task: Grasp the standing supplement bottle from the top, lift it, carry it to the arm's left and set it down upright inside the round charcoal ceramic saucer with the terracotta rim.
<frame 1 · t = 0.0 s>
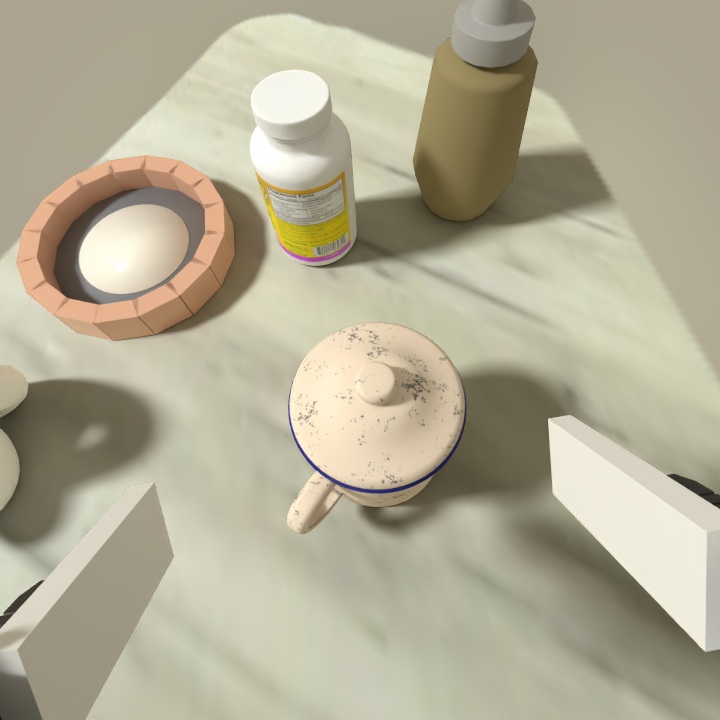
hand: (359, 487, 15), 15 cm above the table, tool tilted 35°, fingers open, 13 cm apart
supplement bottle: (318, 238, 39), on the table
teacup with lid: (364, 459, 31), on the table
squeeze bottle: (456, 198, 40), on the table
saucer tray: (139, 253, 38), on the table
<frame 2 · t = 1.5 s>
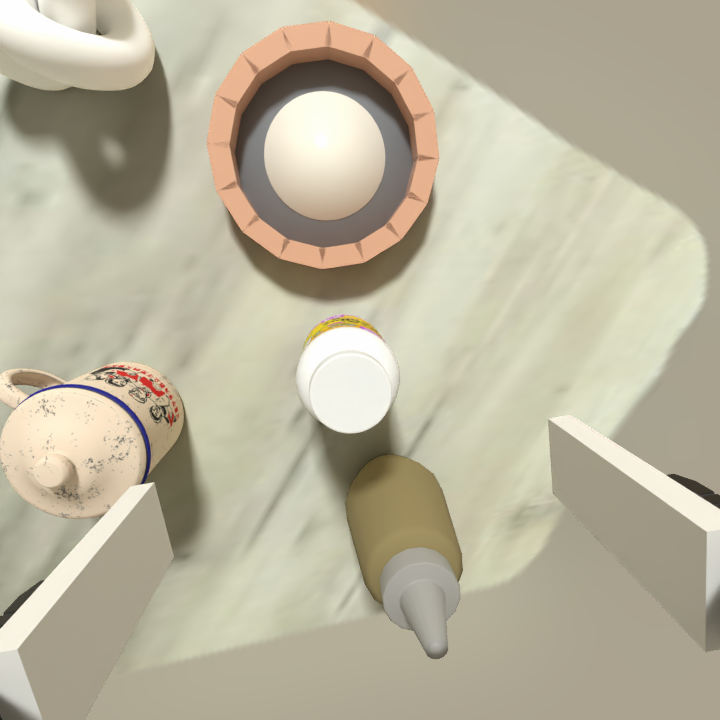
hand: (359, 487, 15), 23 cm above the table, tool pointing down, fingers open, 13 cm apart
white decorative knot: (93, 42, 33), on the table
supplement bottle: (343, 352, 38), on the table
teacup with lid: (117, 401, 38), on the table
squeeze bottle: (388, 483, 41), on the table
saucer tray: (325, 160, 35), on the table
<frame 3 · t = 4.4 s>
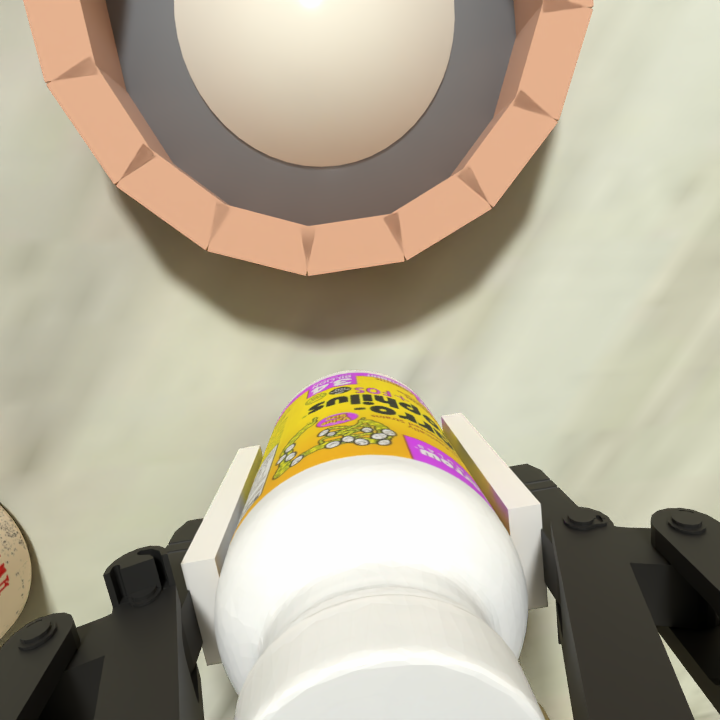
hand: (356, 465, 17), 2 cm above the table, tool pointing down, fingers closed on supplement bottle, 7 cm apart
supplement bottle: (353, 442, 19), on the table, touching gripper
saucer tray: (317, 31, 16), on the table
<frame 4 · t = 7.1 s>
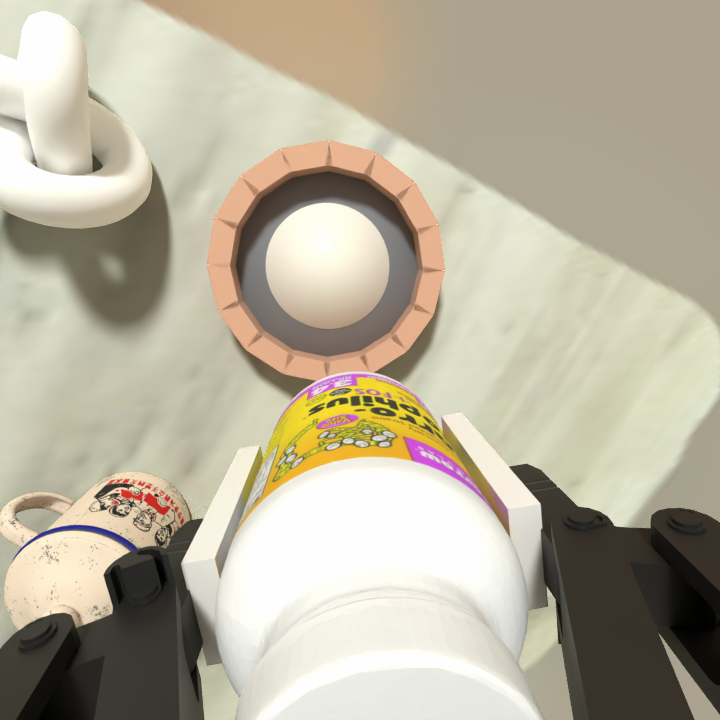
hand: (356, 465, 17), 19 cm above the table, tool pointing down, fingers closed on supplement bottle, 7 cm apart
white decorative knot: (90, 161, 32), on the table
supplement bottle: (354, 443, 19), point 17 cm above the table, touching gripper
teacup with lid: (122, 508, 37), on the table
saucer tray: (328, 267, 34), on the table
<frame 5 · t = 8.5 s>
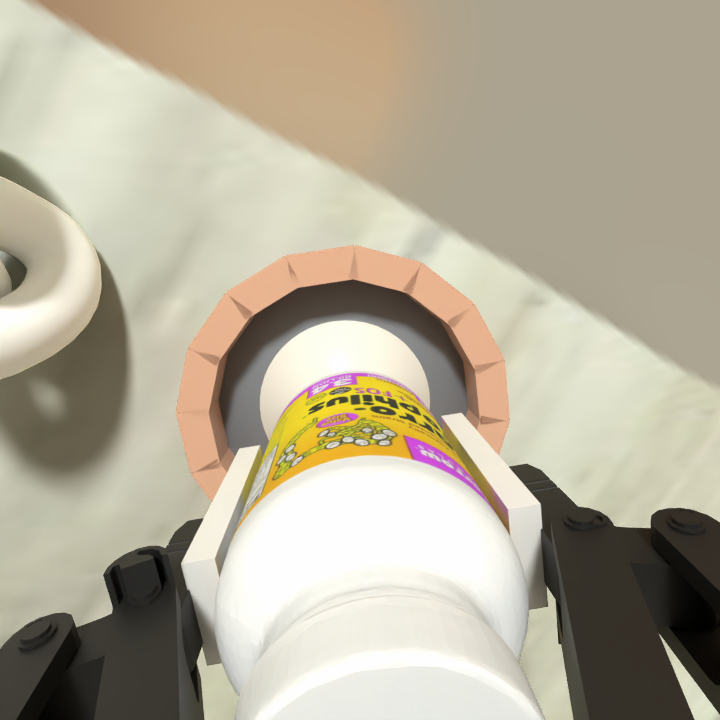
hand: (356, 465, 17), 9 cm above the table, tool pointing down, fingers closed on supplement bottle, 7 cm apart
white decorative knot: (17, 256, 23), on the table
supplement bottle: (354, 442, 19), point 6 cm above the table, touching gripper
saucer tray: (345, 400, 25), on the table
when the fingers open (4 cm above the table, at t = 9.6 s): supplement bottle drops 1 cm, resting on saucer tray.
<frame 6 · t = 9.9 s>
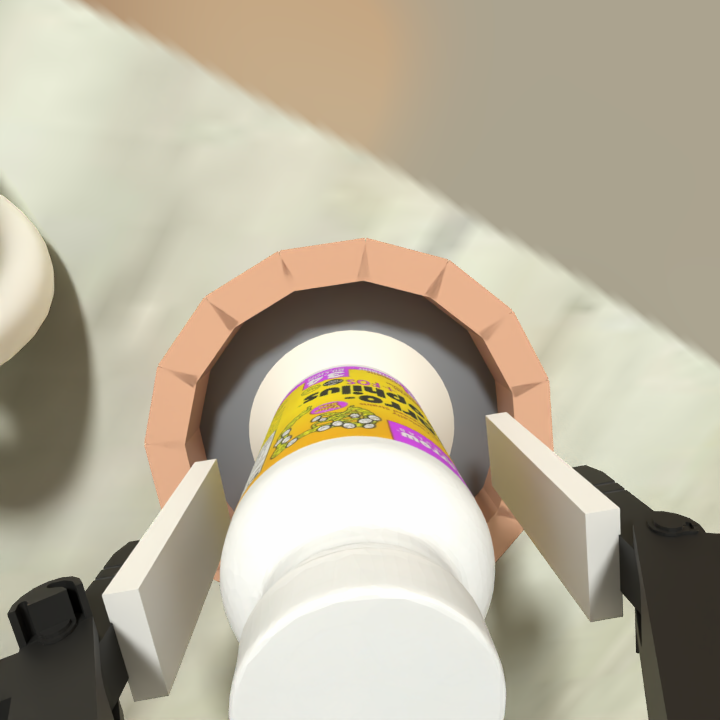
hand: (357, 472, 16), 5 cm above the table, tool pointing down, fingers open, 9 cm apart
supplement bottle: (347, 431, 20), point 1 cm above the table, touching saucer tray
saucer tray: (352, 425, 21), on the table
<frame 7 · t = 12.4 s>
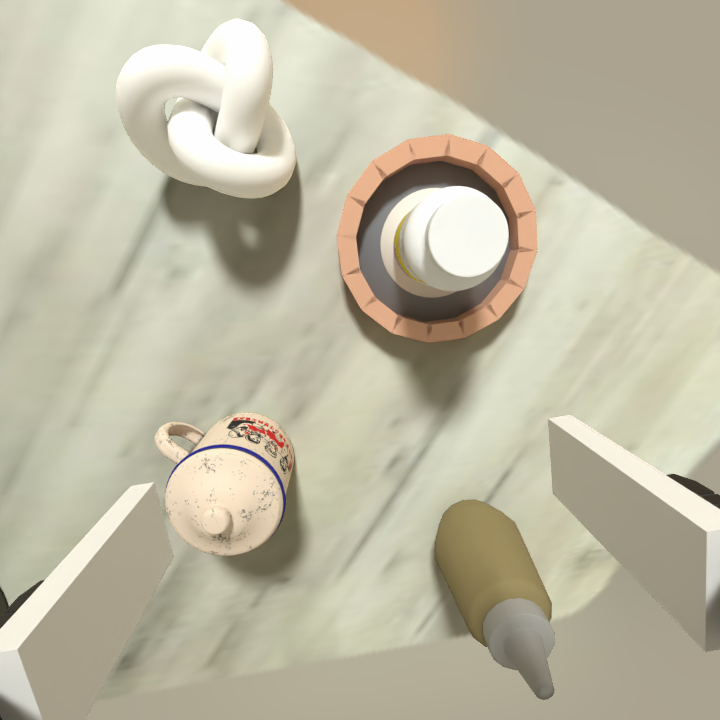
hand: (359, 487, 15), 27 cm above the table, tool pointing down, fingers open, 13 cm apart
white decorative knot: (239, 143, 38), on the table
supplement bottle: (430, 244, 39), point 1 cm above the table, touching saucer tray
teacup with lid: (236, 445, 43), on the table
squeeze bottle: (467, 524, 46), on the table
saucer tray: (431, 244, 40), on the table
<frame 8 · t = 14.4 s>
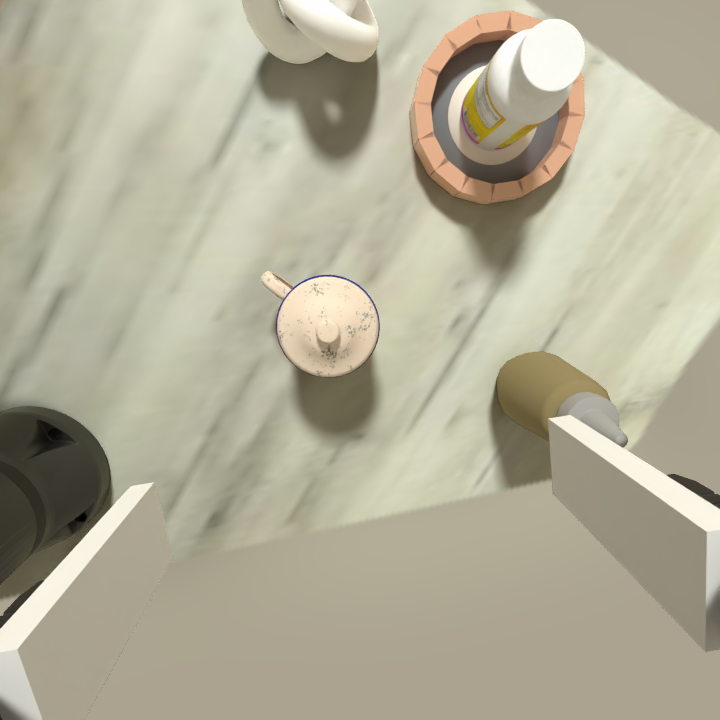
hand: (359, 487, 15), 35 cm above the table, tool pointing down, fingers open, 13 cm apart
white decorative knot: (325, 27, 43), on the table
supplement bottle: (490, 116, 45), point 1 cm above the table, touching saucer tray
teacup with lid: (317, 308, 49), on the table
squeeze bottle: (520, 380, 52), on the table
saucer tray: (490, 118, 46), on the table
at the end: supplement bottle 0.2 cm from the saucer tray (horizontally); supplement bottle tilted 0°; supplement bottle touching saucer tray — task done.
